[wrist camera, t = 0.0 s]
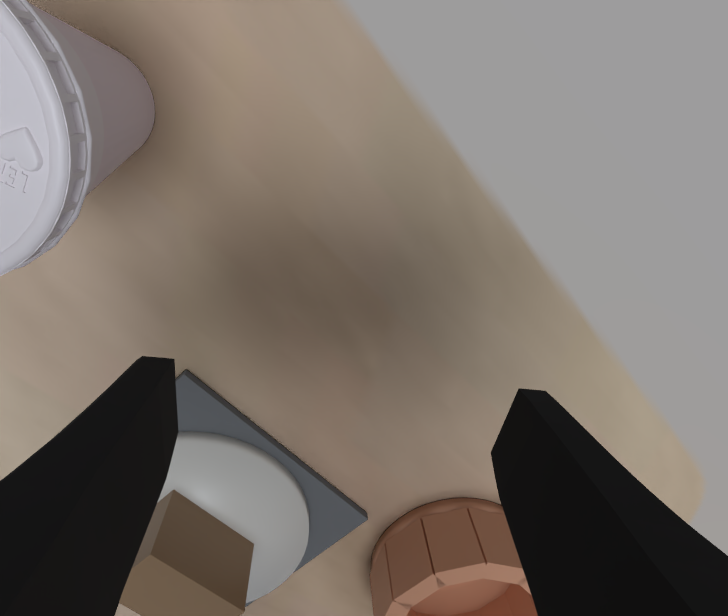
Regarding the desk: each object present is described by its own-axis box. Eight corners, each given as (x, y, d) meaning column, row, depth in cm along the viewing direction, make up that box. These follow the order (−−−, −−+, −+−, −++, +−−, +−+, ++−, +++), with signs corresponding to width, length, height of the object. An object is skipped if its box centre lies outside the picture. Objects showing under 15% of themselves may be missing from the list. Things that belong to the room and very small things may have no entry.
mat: (209, 626, 29) (208, 634, 28) (19, 518, 24) (15, 524, 24) (367, 513, 26) (367, 519, 26) (185, 369, 22) (183, 374, 21)
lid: (207, 625, 28) (188, 713, 24) (31, 524, 24) (-25, 609, 20) (354, 518, 26) (360, 596, 22) (185, 387, 22) (156, 453, 18)
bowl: (437, 634, 30) (453, 708, 27) (337, 562, 27) (339, 635, 24) (560, 556, 29) (595, 625, 25) (467, 469, 25) (492, 534, 22)
